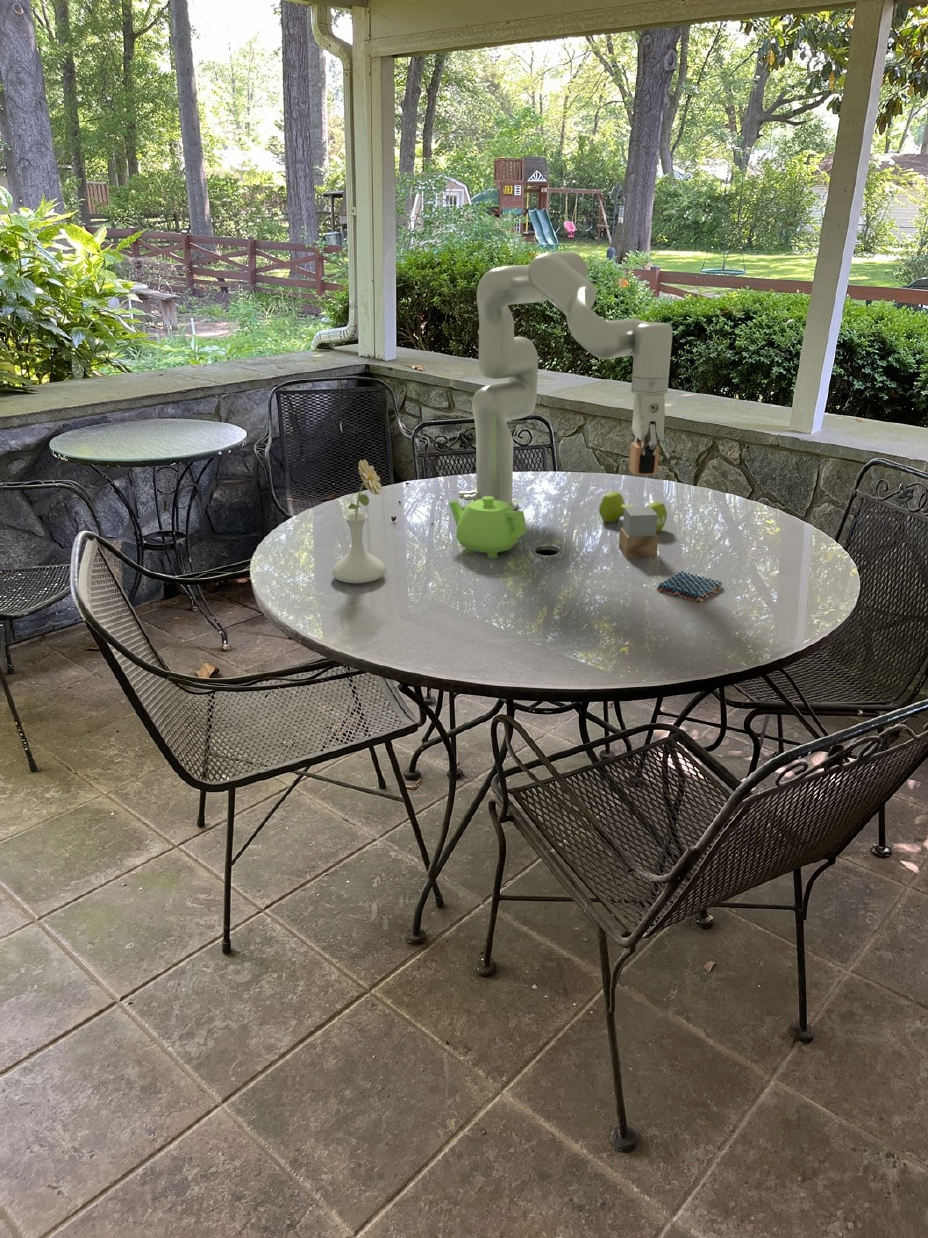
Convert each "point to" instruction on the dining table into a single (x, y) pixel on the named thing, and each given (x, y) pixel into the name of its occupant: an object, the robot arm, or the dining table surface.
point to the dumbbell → (615, 505)
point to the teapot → (488, 525)
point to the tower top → (639, 521)
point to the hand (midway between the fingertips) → (643, 468)
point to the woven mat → (690, 586)
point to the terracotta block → (635, 458)
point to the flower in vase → (360, 537)
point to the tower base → (638, 546)
